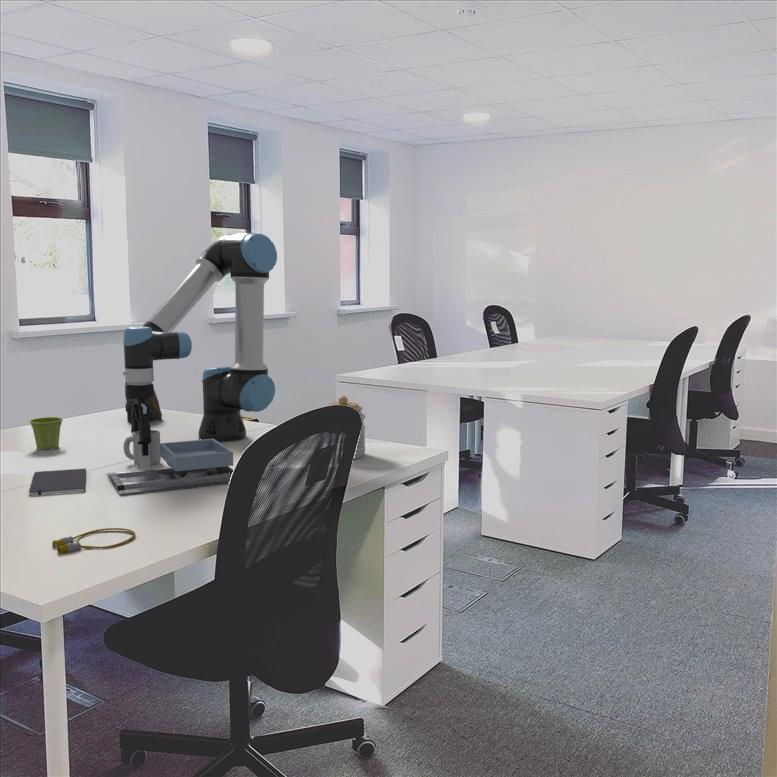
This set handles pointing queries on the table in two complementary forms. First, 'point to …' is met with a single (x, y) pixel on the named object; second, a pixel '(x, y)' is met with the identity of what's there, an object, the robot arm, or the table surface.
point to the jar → (361, 442)
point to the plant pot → (46, 432)
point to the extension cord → (65, 547)
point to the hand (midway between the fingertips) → (141, 463)
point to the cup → (154, 448)
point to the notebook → (58, 481)
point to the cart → (196, 455)
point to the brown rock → (153, 411)
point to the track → (166, 480)
